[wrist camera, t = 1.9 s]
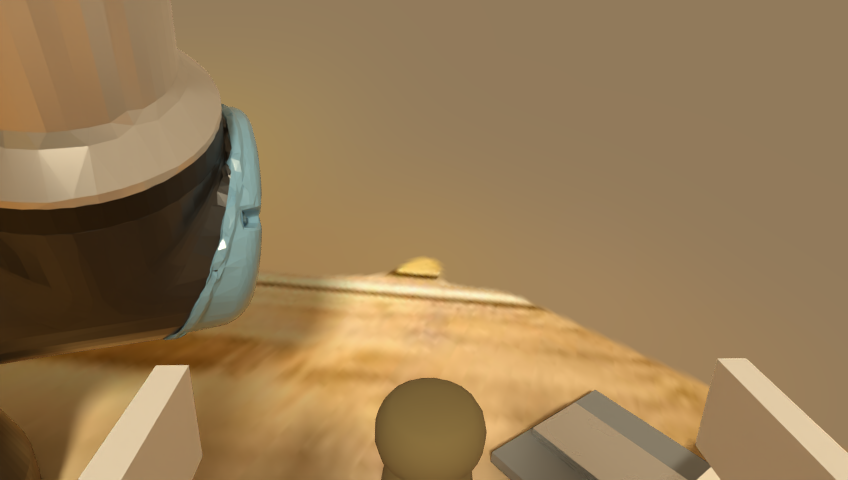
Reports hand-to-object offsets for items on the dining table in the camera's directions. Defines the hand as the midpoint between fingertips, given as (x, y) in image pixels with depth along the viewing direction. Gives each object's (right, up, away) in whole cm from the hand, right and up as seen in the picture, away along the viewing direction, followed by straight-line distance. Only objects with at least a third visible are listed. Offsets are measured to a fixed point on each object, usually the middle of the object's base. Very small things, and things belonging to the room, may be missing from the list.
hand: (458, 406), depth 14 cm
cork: (-1, -13, +16) cm, 21 cm away
